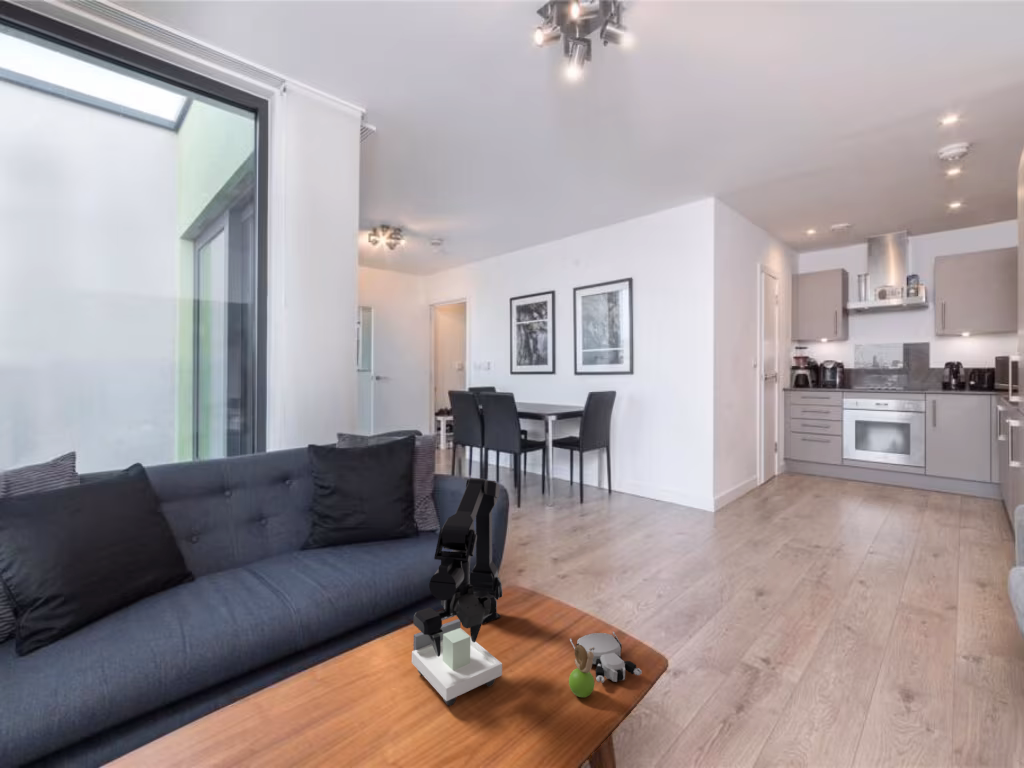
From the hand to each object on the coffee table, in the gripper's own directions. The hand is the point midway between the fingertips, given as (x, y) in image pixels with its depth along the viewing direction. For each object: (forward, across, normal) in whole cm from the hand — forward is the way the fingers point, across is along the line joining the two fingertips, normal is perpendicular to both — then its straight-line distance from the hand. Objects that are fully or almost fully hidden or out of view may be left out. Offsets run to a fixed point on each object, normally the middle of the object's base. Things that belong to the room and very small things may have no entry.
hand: (456, 648), depth 104 cm
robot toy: (+7, +31, -17) cm, 36 cm away
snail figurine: (+7, +19, -21) cm, 29 cm away
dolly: (+7, 0, 0) cm, 7 cm away
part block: (+3, 0, 0) cm, 3 cm away
